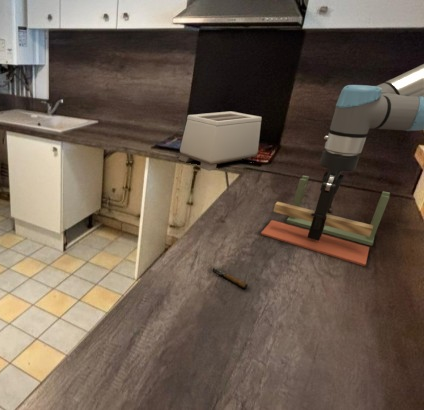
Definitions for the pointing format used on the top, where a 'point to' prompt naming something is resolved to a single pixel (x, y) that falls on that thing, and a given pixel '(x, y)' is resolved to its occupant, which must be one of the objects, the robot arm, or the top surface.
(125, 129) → the top surface
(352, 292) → the top surface
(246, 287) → the can opener
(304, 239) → the mat
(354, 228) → the hanger bar
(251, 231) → the top surface
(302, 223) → the rack
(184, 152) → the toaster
